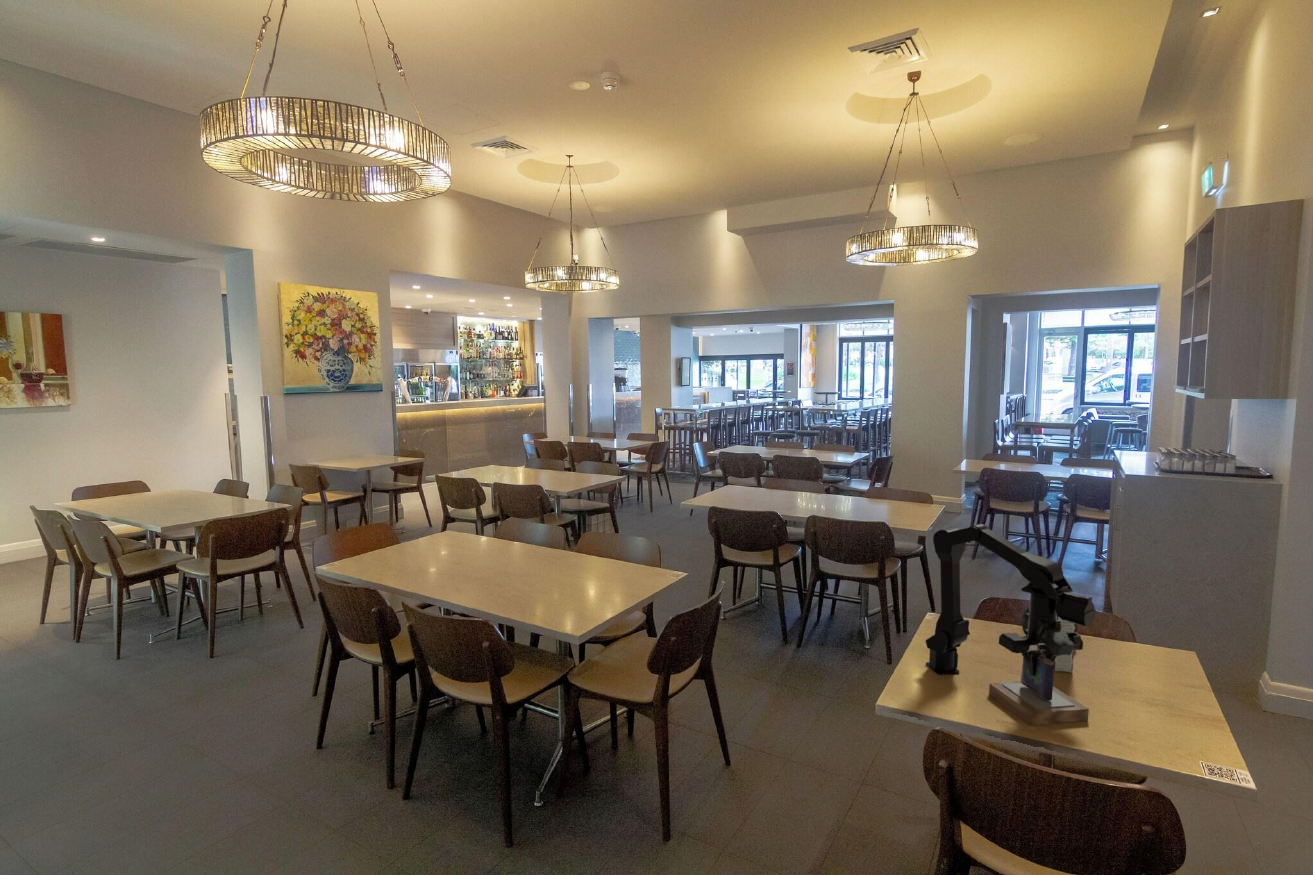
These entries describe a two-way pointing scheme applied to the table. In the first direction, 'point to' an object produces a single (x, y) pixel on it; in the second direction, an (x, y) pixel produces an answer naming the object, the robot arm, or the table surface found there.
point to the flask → (1040, 676)
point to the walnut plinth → (1038, 704)
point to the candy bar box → (1065, 661)
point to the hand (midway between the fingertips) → (1038, 674)
